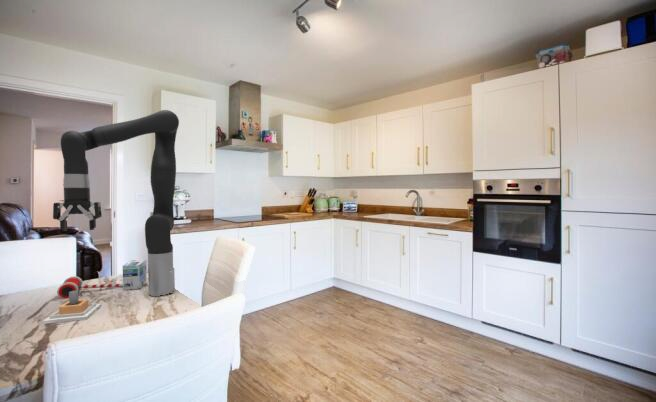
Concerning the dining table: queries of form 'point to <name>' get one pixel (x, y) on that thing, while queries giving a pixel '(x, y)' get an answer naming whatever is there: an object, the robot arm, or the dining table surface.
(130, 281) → the light bulb box
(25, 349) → the dining table surface
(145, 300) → the dining table surface
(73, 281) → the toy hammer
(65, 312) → the ring
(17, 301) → the dining table surface
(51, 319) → the post base
